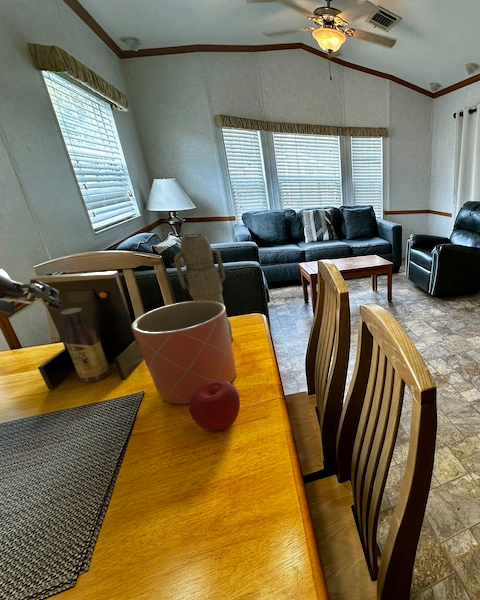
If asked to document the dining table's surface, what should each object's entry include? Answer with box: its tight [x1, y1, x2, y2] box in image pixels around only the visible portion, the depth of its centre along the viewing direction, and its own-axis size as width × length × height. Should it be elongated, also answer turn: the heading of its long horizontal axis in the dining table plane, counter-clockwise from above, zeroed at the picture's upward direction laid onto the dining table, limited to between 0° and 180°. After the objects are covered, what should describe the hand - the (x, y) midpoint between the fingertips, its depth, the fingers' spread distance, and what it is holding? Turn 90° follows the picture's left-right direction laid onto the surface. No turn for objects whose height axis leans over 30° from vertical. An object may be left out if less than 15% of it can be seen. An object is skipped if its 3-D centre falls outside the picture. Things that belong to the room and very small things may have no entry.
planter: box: [132, 300, 237, 405], centre depth 82 cm, size 19×19×20 cm
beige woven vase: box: [173, 233, 234, 343], centre depth 100 cm, size 9×12×35 cm
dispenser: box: [28, 270, 145, 391], centre depth 86 cm, size 12×18×27 cm, turn 104°
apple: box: [188, 380, 241, 432], centre depth 71 cm, size 10×10×10 cm
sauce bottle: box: [61, 308, 111, 383], centre depth 86 cm, size 6×6×20 cm
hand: (36, 308), depth 73 cm, fingers open, 8 cm apart
